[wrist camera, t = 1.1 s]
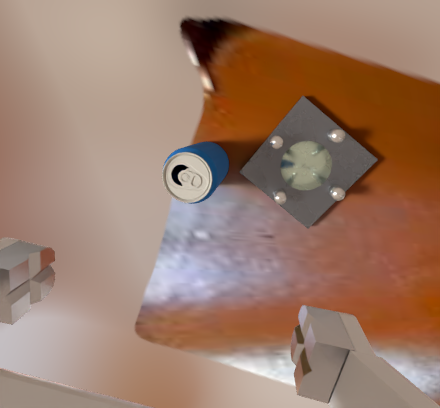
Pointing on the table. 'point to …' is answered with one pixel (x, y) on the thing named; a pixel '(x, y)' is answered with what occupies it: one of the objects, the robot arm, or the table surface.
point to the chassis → (307, 163)
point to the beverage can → (195, 171)
